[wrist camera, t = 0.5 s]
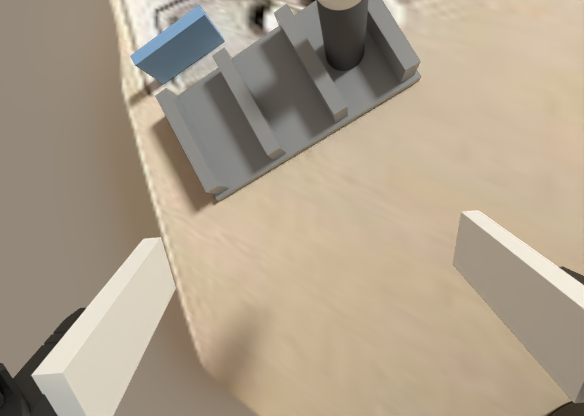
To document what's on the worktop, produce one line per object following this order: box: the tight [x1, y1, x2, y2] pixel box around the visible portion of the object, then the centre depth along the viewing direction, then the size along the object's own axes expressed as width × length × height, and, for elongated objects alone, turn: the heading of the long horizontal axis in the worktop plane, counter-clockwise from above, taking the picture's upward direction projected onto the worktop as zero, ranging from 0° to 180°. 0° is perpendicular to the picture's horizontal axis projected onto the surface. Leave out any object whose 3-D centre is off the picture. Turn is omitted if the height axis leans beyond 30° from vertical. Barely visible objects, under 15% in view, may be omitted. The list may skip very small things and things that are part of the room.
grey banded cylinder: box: [316, 0, 368, 71], centre depth 26 cm, size 4×4×12 cm
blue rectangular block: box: [130, 5, 224, 84], centre depth 34 cm, size 1×9×5 cm, turn 119°
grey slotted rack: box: [156, 0, 421, 201], centre depth 33 cm, size 13×25×4 cm, turn 119°
